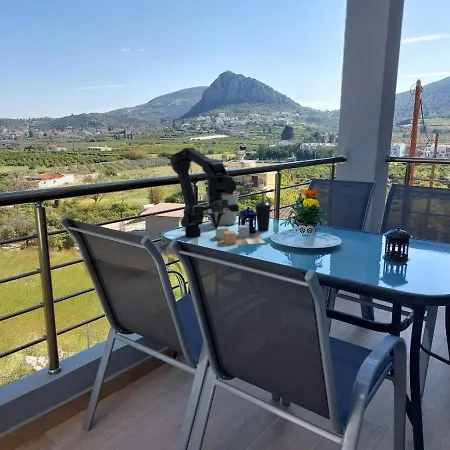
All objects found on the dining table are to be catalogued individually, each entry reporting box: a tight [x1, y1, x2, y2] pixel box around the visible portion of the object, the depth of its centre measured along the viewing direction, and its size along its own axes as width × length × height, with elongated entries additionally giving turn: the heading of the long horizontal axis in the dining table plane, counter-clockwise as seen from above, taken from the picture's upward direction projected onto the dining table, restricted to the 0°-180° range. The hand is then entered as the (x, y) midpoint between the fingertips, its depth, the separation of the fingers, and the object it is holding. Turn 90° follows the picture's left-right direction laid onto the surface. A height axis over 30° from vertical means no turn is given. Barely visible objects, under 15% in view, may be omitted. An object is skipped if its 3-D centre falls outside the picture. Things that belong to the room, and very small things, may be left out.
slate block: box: [238, 224, 250, 238], centre depth 183 cm, size 4×4×4 cm
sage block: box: [215, 226, 229, 239], centre depth 181 cm, size 4×4×4 cm
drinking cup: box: [254, 190, 272, 232], centre depth 191 cm, size 8×8×20 cm
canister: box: [204, 189, 241, 227], centre depth 212 cm, size 18×18×21 cm
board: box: [214, 233, 267, 247], centre depth 178 cm, size 20×17×1 cm
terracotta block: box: [224, 230, 237, 244], centre depth 172 cm, size 4×4×4 cm
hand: (216, 228), depth 171 cm, fingers closed
